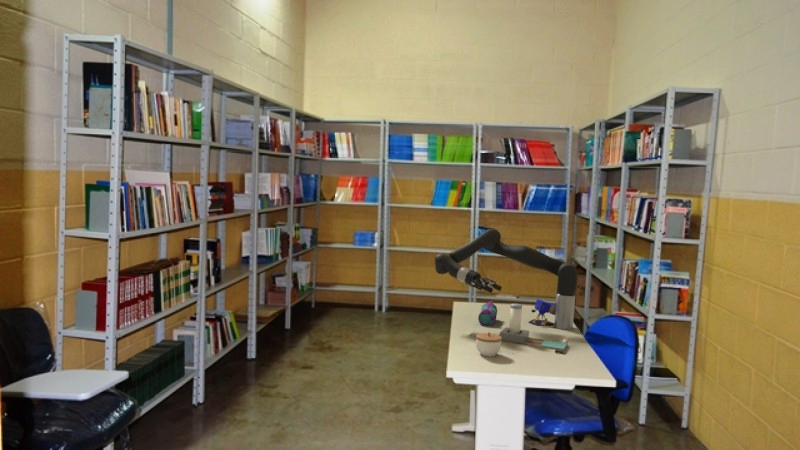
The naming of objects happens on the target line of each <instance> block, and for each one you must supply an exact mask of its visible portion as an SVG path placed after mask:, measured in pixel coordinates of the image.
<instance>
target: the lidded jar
mask: <svg viewBox="0 0 800 450" xmlns="http://www.w3.org/2000/svg"><path fill="white" fill-rule="evenodd" d="M475 338H476V339H475V340H476V341H475V344H476V349H477V351H478V352H479V354H480V355H481V356H484V357H495V356H496V354H498V353H499V352H500V350H501V346H502V341H501V340H502V337H501V336H500V334H496V333H491V332H481V333H478V334H476V335H475Z"/></svg>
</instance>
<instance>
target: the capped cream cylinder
mask: <svg viewBox="0 0 800 450" xmlns="http://www.w3.org/2000/svg"><path fill="white" fill-rule="evenodd" d="M522 309H523V304H521V303H510V313H509V327H508V328H509V333H516V334H520V329H521V327H522V326H521V325H522Z"/></svg>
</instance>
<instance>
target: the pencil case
mask: <svg viewBox="0 0 800 450" xmlns="http://www.w3.org/2000/svg"><path fill="white" fill-rule="evenodd" d="M497 315H498V308H497V305H495V304H494V301H492V300H491V301H490V300H489V301H488V302H486V303H484V304H483V305H482V306H481V308H480V313H479V314H478V323H479V325H480V326H494V325H495V323H496V320H497Z"/></svg>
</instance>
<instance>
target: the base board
mask: <svg viewBox="0 0 800 450" xmlns="http://www.w3.org/2000/svg"><path fill="white" fill-rule="evenodd" d="M544 340H545V339H544V338H543V339H542V338H537V337H530V336H529V338H528V339H527V340H526V342H525V343H524V344H522V343H516V342H509V341H503V340H501V342H505V343H509V344H510V343H511V344H517V345H523V346H528V347H535V348H536V347H537V348H542V349H548V350H553V351H554V353H557V354H564V353H565V351H566V349H567V348H568V347H569V346H568V345H569V343H567V342H566V343H567V345H566V347H565V349H564V350H561V349H555V348H549V347H542V346H541V344H542V343H543V342H544ZM547 340H548V339H547ZM548 341H551V340H548ZM553 341H554V342H557V341H555V340H553ZM560 342H561V341H560ZM561 343H563V342H561Z"/></svg>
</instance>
